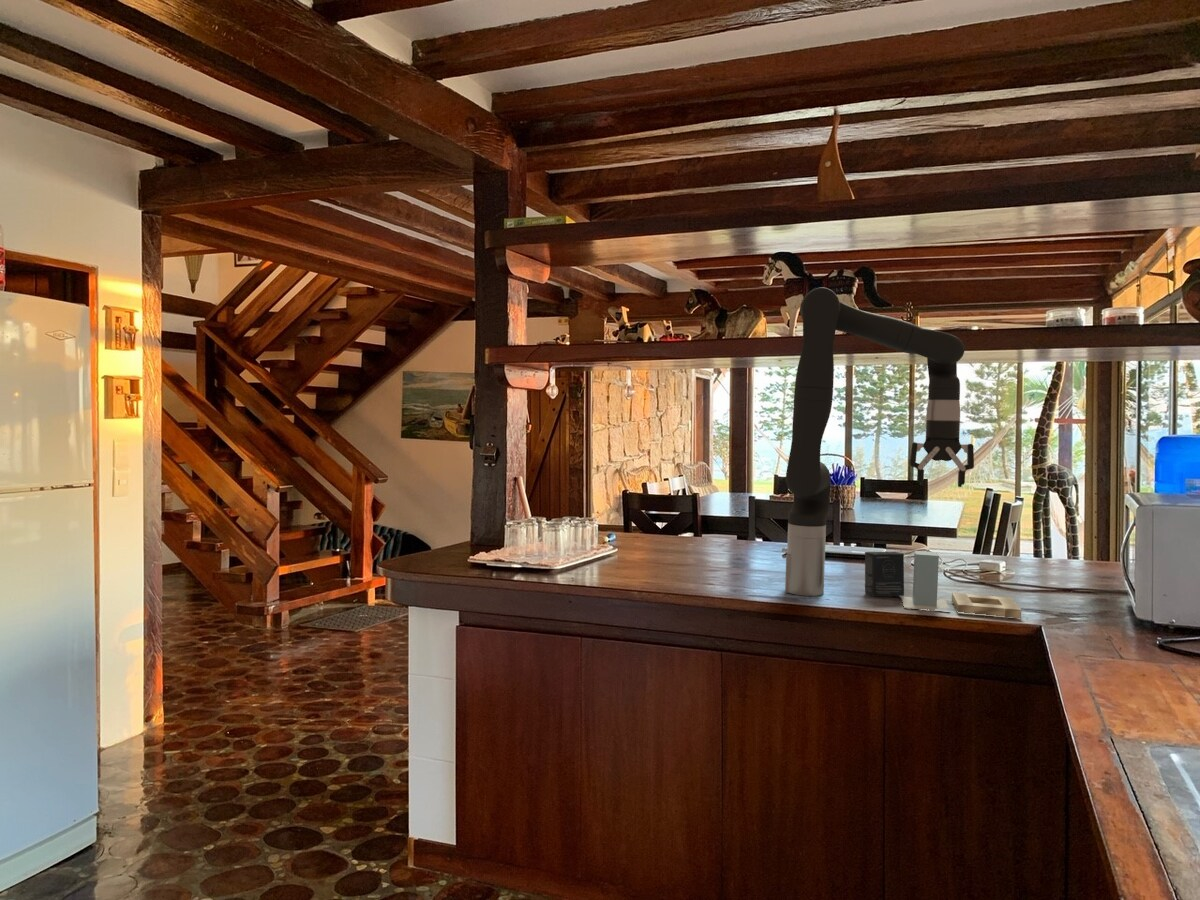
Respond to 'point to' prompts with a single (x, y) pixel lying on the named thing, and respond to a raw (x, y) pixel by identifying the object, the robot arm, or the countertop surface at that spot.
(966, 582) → the countertop surface
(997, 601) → the pocket board
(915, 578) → the block
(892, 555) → the box
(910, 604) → the mat
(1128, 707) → the countertop surface
